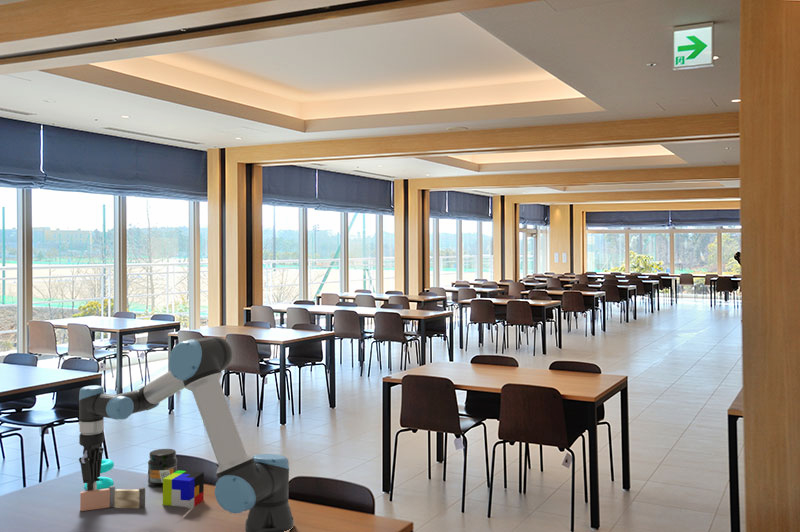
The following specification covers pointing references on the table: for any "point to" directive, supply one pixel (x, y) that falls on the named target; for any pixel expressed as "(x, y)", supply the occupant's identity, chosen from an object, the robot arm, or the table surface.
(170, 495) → the puzzle toy
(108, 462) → the donuts
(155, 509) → the table surface
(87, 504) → the salmon gate panel
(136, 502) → the rail
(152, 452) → the supplement container
